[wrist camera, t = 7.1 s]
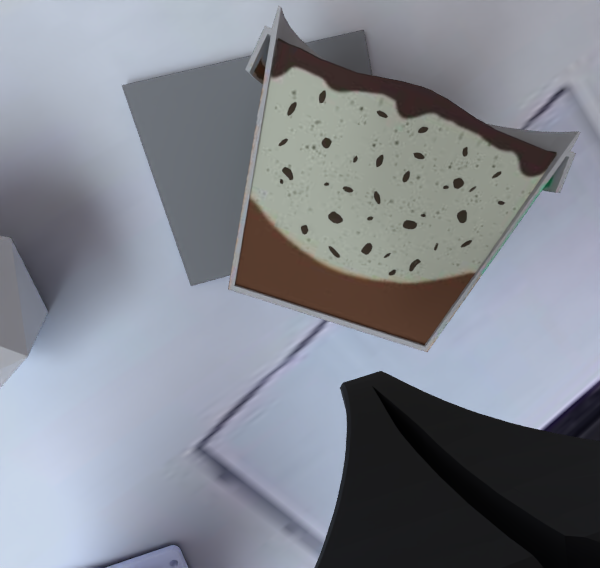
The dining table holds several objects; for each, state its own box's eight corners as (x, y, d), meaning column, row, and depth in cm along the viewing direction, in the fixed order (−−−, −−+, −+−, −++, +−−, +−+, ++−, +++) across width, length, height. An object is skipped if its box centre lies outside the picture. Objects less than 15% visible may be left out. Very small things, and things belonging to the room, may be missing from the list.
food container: (415, 305, 21) (500, 141, 18) (456, 361, 16) (593, 137, 12) (225, 241, 20) (277, 51, 16) (193, 278, 14) (262, -2, 11)
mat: (397, 227, 19) (400, 227, 19) (192, 284, 19) (190, 286, 18) (361, 33, 17) (363, 29, 17) (125, 88, 16) (121, 85, 16)
